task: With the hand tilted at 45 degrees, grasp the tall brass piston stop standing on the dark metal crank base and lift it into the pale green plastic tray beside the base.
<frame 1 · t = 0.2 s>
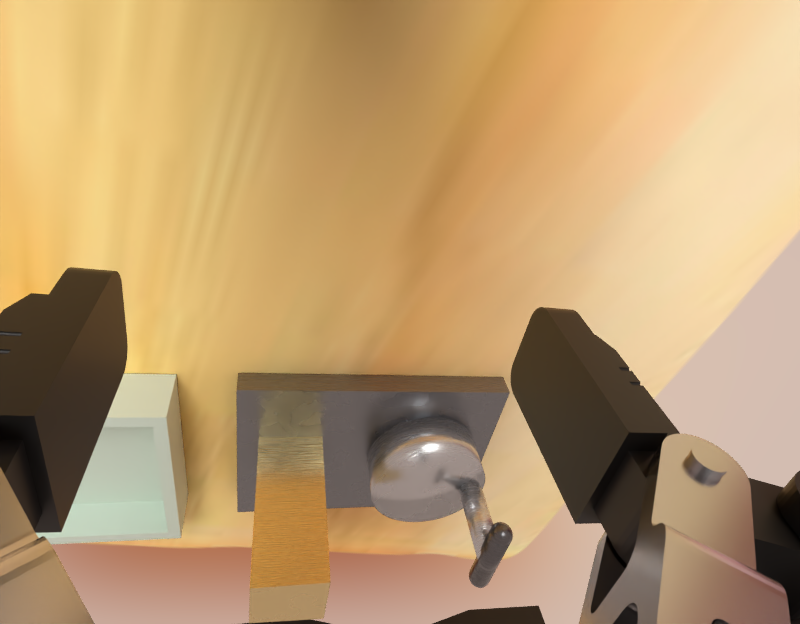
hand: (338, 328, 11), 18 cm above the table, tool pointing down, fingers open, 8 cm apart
piston stop: (289, 456, 38), point 1 cm above the table, touching crank base
tray: (81, 441, 36), on the table
crank base: (365, 438, 40), on the table
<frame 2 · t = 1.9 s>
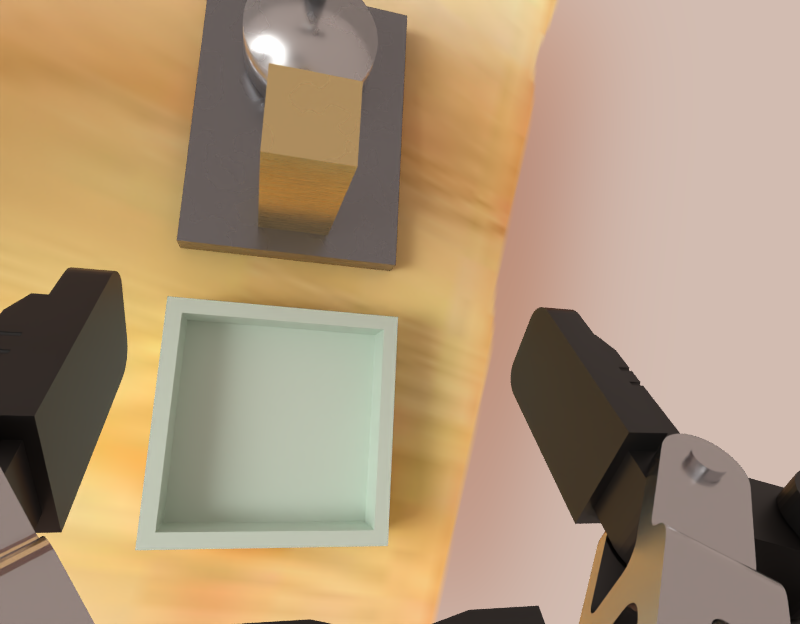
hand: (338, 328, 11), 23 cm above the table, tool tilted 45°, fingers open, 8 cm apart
piston stop: (296, 198, 33), point 1 cm above the table, touching crank base
tray: (276, 421, 32), on the table
crank base: (300, 128, 36), on the table
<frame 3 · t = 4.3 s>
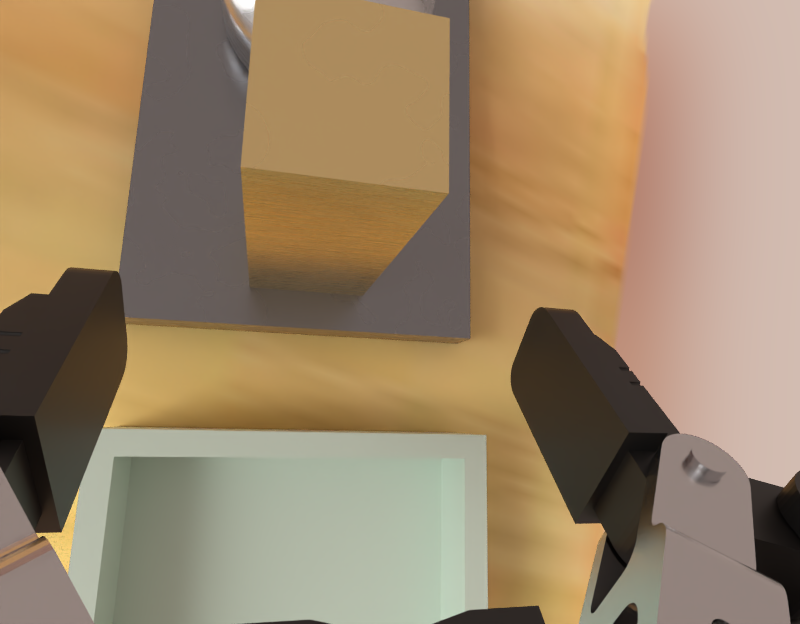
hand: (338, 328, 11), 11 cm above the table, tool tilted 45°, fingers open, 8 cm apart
piston stop: (310, 238, 21), point 1 cm above the table, touching crank base
tray: (286, 608, 20), on the table
crank base: (314, 127, 23), on the table
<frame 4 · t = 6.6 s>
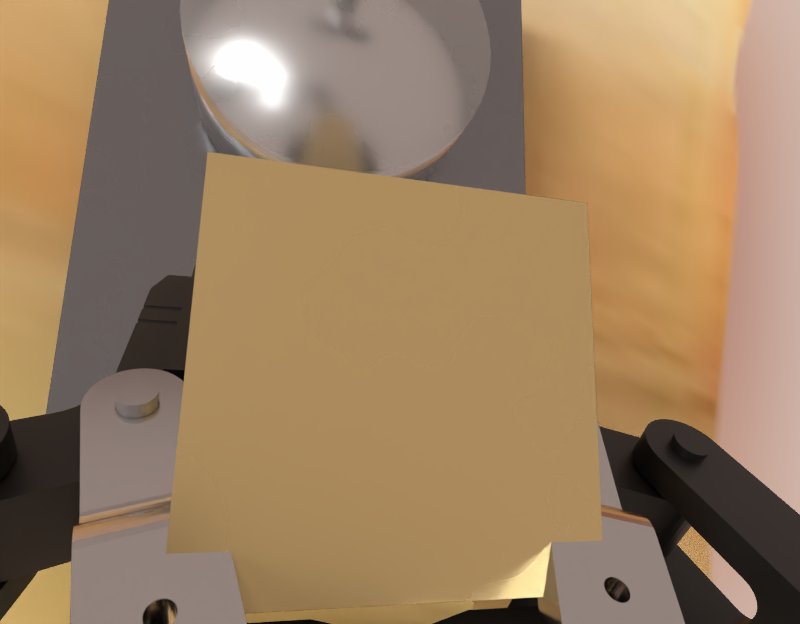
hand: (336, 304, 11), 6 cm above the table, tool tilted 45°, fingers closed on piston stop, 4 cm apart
piston stop: (314, 402, 15), point 1 cm above the table, touching crank base, gripper
crank base: (319, 231, 17), on the table
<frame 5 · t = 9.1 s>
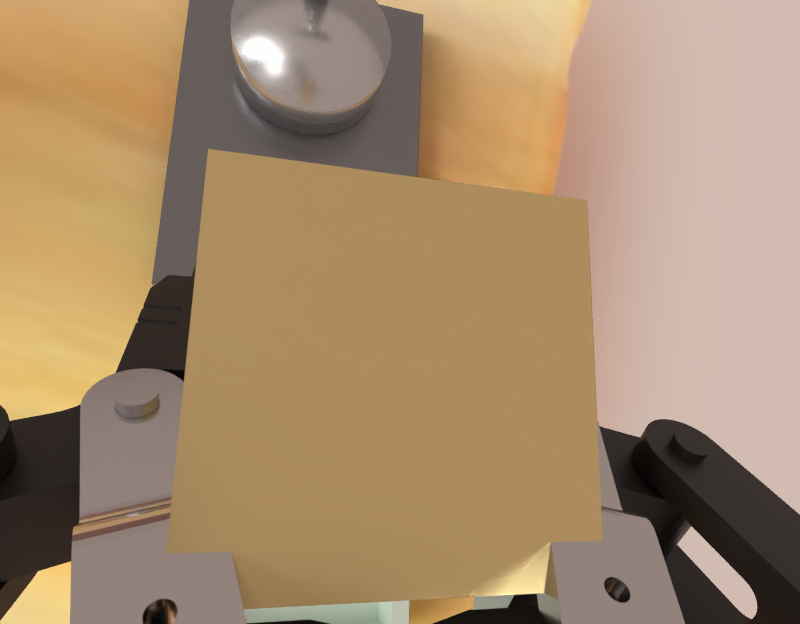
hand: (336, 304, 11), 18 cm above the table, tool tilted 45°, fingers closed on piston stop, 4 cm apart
piston stop: (314, 401, 15), point 14 cm above the table, touching gripper
tray: (271, 497, 27), on the table
crank base: (300, 146, 31), on the table
when the fingers open (6 cm above the table, at t = 12.0 s): piston stop drops 1 cm, resting on tray.
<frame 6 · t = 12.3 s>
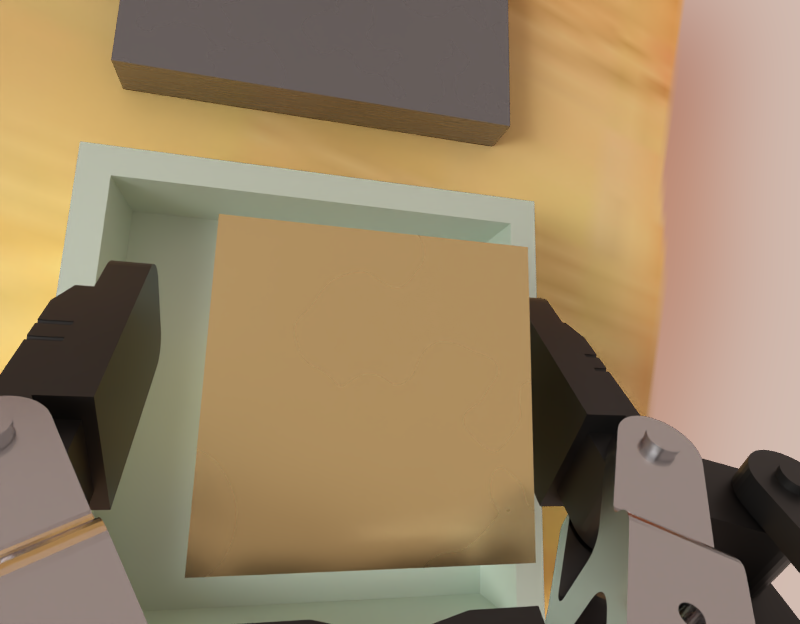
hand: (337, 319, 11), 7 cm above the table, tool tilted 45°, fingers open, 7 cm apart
piston stop: (309, 406, 16), point 1 cm above the table, touching tray
tray: (305, 405, 17), on the table
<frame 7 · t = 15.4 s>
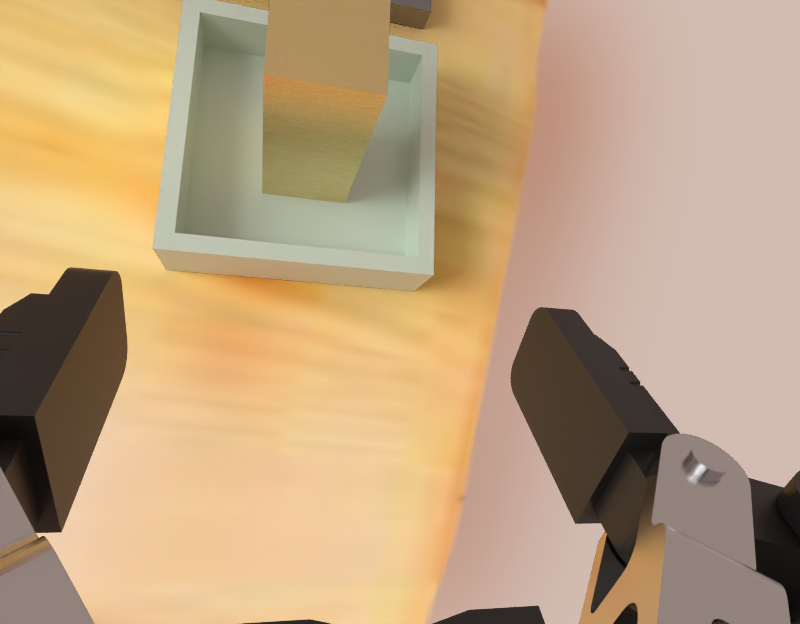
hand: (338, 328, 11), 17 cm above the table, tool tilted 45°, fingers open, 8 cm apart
piston stop: (306, 160, 28), point 1 cm above the table, touching tray
tray: (304, 167, 29), on the table
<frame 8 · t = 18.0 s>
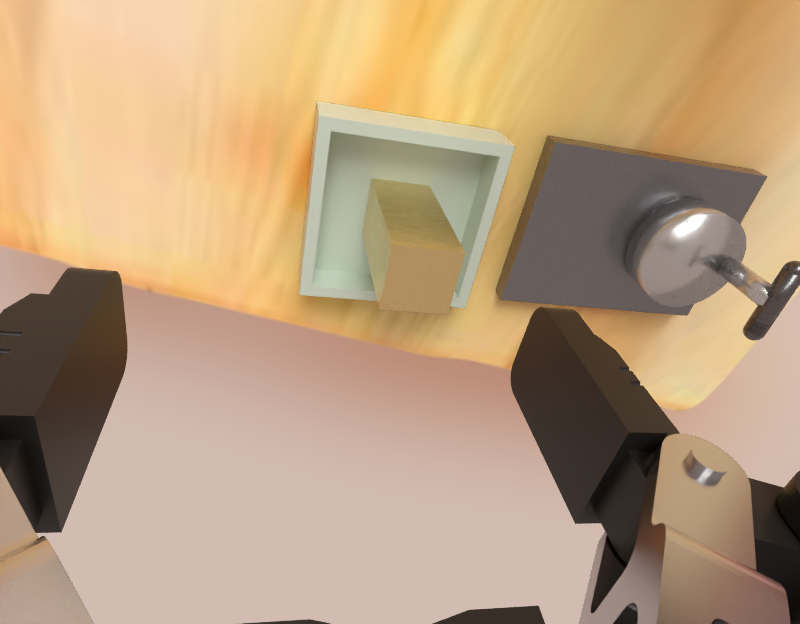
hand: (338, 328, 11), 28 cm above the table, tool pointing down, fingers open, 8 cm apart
piston stop: (395, 209, 39), point 1 cm above the table, touching tray
tray: (394, 203, 40), on the table
crank base: (620, 231, 44), on the table
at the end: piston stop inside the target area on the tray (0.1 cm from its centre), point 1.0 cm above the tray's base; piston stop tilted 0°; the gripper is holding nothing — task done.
